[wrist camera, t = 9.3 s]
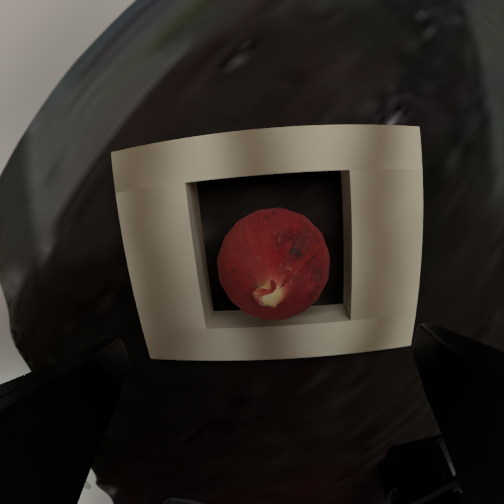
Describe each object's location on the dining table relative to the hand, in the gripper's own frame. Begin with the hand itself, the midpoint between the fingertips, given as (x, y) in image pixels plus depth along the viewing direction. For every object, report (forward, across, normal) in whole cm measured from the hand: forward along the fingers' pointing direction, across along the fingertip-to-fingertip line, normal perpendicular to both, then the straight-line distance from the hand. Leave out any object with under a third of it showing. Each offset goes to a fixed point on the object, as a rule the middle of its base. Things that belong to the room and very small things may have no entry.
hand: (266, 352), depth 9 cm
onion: (+12, 0, 0) cm, 12 cm away
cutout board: (+12, 0, 0) cm, 12 cm away
